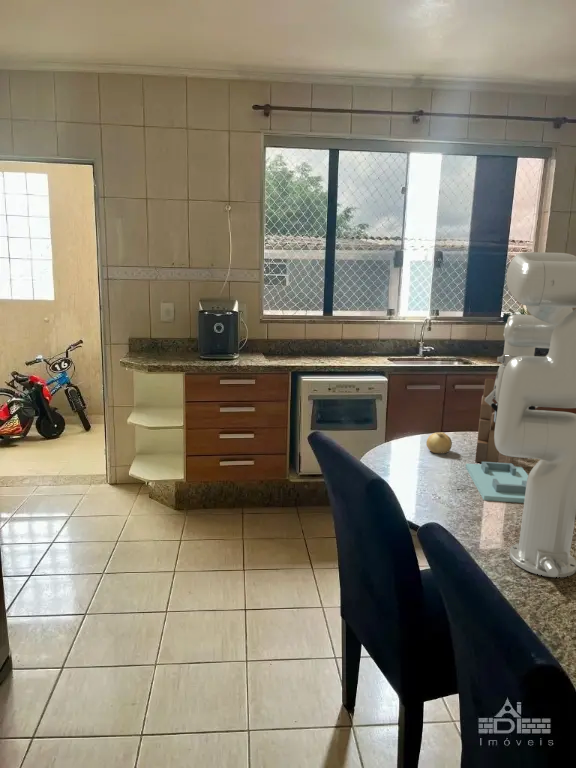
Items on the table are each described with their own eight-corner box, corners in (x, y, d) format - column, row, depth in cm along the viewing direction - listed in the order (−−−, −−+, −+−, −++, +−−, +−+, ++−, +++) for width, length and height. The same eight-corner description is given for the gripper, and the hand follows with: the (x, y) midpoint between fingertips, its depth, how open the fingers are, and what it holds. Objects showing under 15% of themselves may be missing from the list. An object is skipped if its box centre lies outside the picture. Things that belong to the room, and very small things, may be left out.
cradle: (548, 504, 144) (550, 492, 143) (483, 500, 145) (485, 488, 145) (520, 470, 167) (522, 460, 166) (465, 467, 169) (466, 457, 168)
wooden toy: (498, 465, 171) (507, 384, 166) (475, 462, 173) (483, 382, 168) (498, 450, 185) (506, 375, 180) (476, 447, 188) (484, 373, 182)
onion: (420, 449, 183) (422, 429, 182) (439, 446, 187) (440, 426, 186) (437, 457, 177) (439, 435, 175) (456, 454, 180) (458, 432, 179)
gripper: (487, 362, 146) (480, 430, 150) (556, 366, 144) (547, 434, 148) (481, 357, 153) (474, 422, 157) (546, 360, 152) (538, 425, 156)
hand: (510, 427), depth 153 cm, fingers closed on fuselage, 5 cm apart
